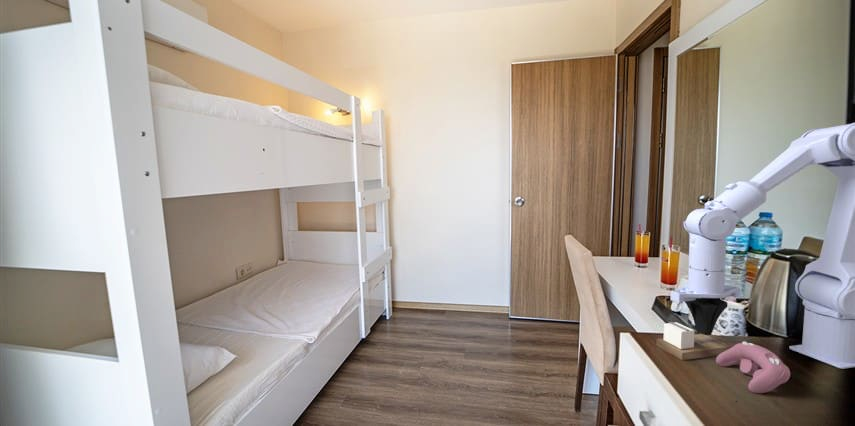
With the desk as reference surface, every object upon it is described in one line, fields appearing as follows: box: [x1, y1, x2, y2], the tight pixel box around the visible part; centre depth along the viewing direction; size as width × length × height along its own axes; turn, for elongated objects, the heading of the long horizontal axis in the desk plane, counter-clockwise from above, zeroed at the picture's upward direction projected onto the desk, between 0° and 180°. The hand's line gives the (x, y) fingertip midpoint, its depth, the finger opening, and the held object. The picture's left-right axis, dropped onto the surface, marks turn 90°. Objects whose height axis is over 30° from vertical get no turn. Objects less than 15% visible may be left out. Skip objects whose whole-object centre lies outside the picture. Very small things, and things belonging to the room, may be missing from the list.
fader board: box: [655, 333, 736, 361], centre depth 70 cm, size 13×6×2 cm, turn 100°
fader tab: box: [663, 321, 696, 349], centre depth 69 cm, size 3×4×4 cm
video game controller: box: [715, 340, 791, 394], centre depth 59 cm, size 10×5×7 cm, turn 169°
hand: (703, 333), depth 70 cm, fingers closed
